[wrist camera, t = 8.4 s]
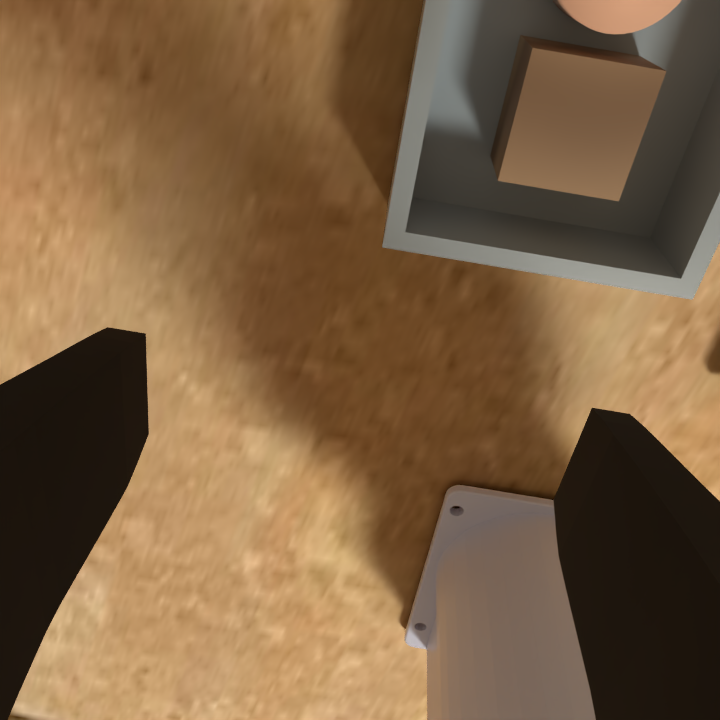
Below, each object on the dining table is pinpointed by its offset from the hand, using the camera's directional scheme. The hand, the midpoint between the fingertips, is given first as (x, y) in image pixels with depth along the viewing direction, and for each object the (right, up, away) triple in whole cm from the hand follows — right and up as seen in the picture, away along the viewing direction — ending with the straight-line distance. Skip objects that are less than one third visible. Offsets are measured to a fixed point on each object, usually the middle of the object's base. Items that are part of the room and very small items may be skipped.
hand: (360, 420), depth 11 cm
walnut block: (+5, +8, +7) cm, 11 cm away
